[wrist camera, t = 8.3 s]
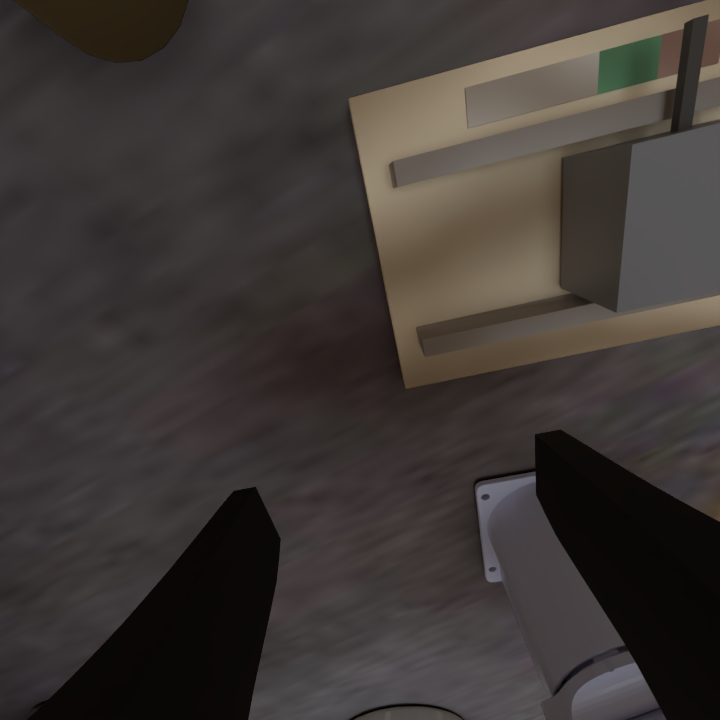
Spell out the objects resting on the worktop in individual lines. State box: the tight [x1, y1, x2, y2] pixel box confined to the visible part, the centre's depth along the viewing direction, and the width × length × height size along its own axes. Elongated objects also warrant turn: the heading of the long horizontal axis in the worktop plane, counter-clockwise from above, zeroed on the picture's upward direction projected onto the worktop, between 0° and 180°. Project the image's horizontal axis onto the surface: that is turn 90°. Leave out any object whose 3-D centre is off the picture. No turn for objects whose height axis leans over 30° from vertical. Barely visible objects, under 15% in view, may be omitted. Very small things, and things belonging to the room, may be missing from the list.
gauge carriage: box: [561, 14, 720, 313], centre depth 12 cm, size 8×5×4 cm, turn 13°
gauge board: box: [348, 0, 720, 389], centre depth 14 cm, size 12×19×3 cm, turn 103°
